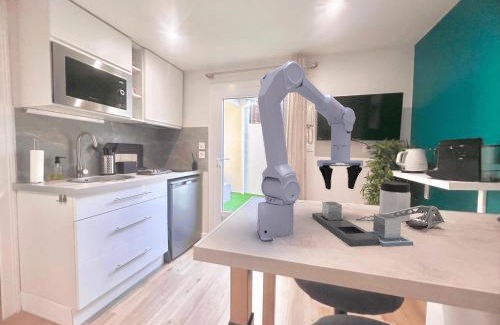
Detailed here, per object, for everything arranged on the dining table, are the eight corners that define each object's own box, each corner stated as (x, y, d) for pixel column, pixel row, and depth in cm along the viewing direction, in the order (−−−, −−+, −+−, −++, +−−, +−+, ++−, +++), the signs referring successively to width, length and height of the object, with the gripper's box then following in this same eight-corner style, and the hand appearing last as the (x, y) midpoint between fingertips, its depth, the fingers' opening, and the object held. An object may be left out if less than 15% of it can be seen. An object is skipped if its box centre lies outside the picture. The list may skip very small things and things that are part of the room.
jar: (395, 214, 79) (396, 181, 79) (415, 221, 71) (417, 184, 71) (373, 215, 78) (374, 181, 77) (391, 222, 70) (392, 185, 69)
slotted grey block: (328, 225, 64) (328, 204, 63) (322, 221, 68) (322, 201, 67) (341, 225, 64) (341, 204, 64) (334, 221, 68) (335, 201, 68)
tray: (382, 250, 50) (382, 242, 50) (362, 238, 57) (362, 231, 57) (413, 249, 51) (413, 241, 50) (389, 236, 58) (389, 230, 58)
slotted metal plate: (350, 250, 50) (350, 239, 50) (312, 220, 72) (312, 213, 71) (379, 249, 50) (379, 238, 50) (332, 220, 72) (333, 212, 72)
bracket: (445, 223, 63) (428, 191, 64) (371, 249, 68) (356, 219, 68) (438, 220, 66) (422, 189, 67) (368, 245, 71) (354, 216, 71)
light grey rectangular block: (384, 244, 52) (385, 218, 51) (373, 238, 56) (373, 213, 55) (400, 244, 52) (401, 217, 52) (387, 237, 56) (388, 213, 56)
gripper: (324, 145, 66) (323, 191, 66) (370, 146, 67) (368, 190, 68) (314, 146, 73) (314, 187, 73) (356, 146, 74) (355, 187, 75)
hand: (339, 188), depth 71 cm, fingers open, 7 cm apart
